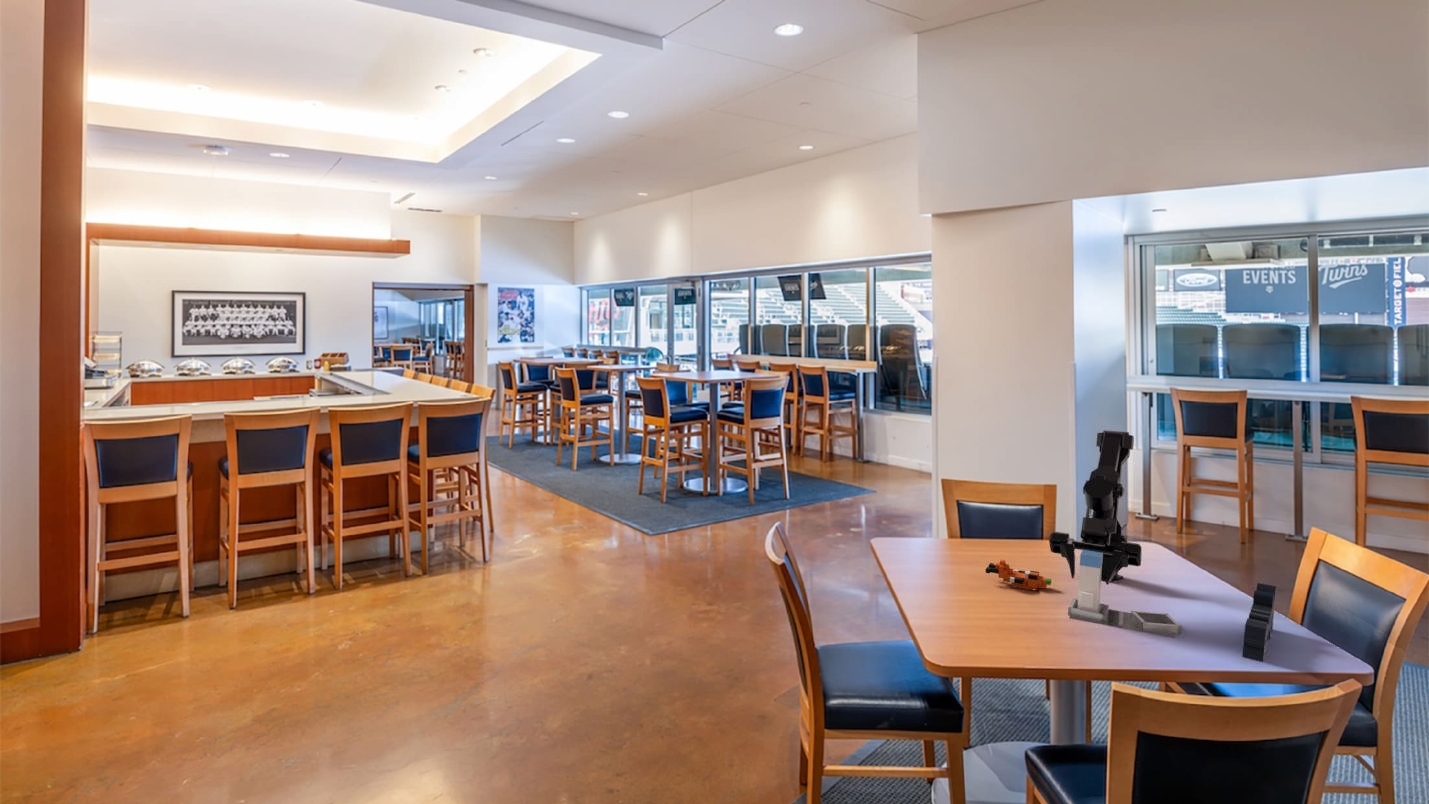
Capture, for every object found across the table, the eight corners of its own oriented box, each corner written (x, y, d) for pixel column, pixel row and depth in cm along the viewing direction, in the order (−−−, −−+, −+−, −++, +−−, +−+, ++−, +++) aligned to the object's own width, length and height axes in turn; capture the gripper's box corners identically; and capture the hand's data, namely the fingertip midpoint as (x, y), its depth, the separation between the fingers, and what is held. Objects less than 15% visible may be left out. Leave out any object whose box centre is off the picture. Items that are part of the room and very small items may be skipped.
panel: (1172, 622, 162) (1172, 619, 162) (1174, 640, 153) (1175, 636, 153) (1073, 605, 172) (1073, 601, 172) (1069, 620, 163) (1069, 616, 163)
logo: (1254, 625, 161) (1257, 581, 161) (1272, 629, 159) (1276, 585, 158) (1242, 660, 144) (1246, 611, 143) (1262, 665, 142) (1266, 615, 141)
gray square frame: (1130, 619, 164) (1131, 610, 163) (1166, 622, 162) (1167, 613, 162) (1142, 632, 156) (1143, 623, 156) (1180, 636, 155) (1181, 626, 155)
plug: (1079, 608, 168) (1082, 549, 167) (1099, 612, 166) (1103, 552, 165) (1076, 615, 164) (1079, 555, 163) (1096, 619, 162) (1100, 558, 161)
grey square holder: (1072, 607, 171) (1073, 598, 171) (1108, 614, 167) (1108, 605, 167) (1067, 617, 165) (1068, 607, 164) (1104, 624, 161) (1105, 615, 160)
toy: (991, 554, 192) (1053, 564, 184) (990, 576, 192) (1052, 587, 185) (985, 562, 185) (1049, 572, 177) (984, 585, 186) (1048, 596, 178)
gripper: (1052, 497, 172) (1041, 554, 164) (1144, 508, 162) (1137, 570, 153) (1056, 523, 179) (1045, 579, 171) (1144, 535, 169) (1137, 595, 161)
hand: (1089, 580), depth 164 cm, fingers open, 7 cm apart
